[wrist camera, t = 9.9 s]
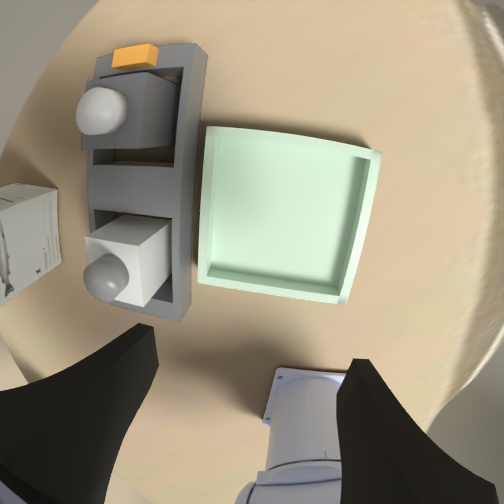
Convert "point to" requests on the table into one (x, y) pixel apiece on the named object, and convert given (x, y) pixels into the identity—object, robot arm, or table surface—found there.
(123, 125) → the plug
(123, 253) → the twin plug
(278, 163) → the tray
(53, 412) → the robot arm
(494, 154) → the table surface
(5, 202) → the supplement box
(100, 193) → the power strip
